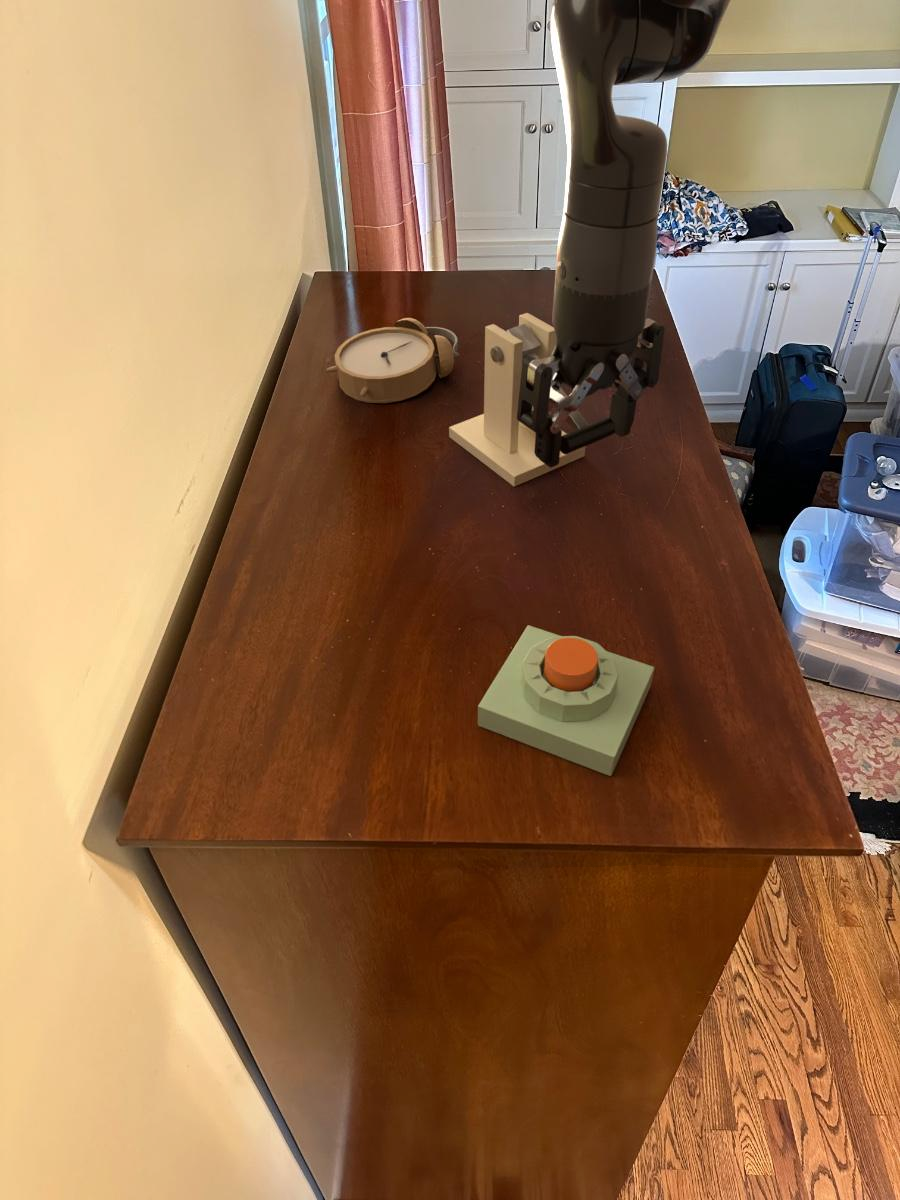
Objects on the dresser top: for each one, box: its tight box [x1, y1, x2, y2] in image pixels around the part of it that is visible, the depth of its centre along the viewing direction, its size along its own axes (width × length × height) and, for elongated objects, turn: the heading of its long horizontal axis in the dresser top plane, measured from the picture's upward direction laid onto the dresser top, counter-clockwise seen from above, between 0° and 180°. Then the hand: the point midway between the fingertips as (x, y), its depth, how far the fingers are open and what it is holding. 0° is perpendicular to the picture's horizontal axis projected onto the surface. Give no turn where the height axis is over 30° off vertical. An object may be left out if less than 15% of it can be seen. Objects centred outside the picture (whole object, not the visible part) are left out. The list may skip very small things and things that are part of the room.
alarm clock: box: [326, 317, 460, 404], centre depth 98 cm, size 11×5×15 cm
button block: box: [477, 624, 655, 777], centre depth 61 cm, size 10×9×4 cm
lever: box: [505, 324, 616, 454], centre depth 79 cm, size 13×6×2 cm, turn 35°
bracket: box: [448, 312, 587, 487], centre depth 84 cm, size 11×9×13 cm
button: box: [544, 638, 598, 692], centre depth 60 cm, size 4×4×2 cm
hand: (584, 447), depth 79 cm, fingers open, 8 cm apart
